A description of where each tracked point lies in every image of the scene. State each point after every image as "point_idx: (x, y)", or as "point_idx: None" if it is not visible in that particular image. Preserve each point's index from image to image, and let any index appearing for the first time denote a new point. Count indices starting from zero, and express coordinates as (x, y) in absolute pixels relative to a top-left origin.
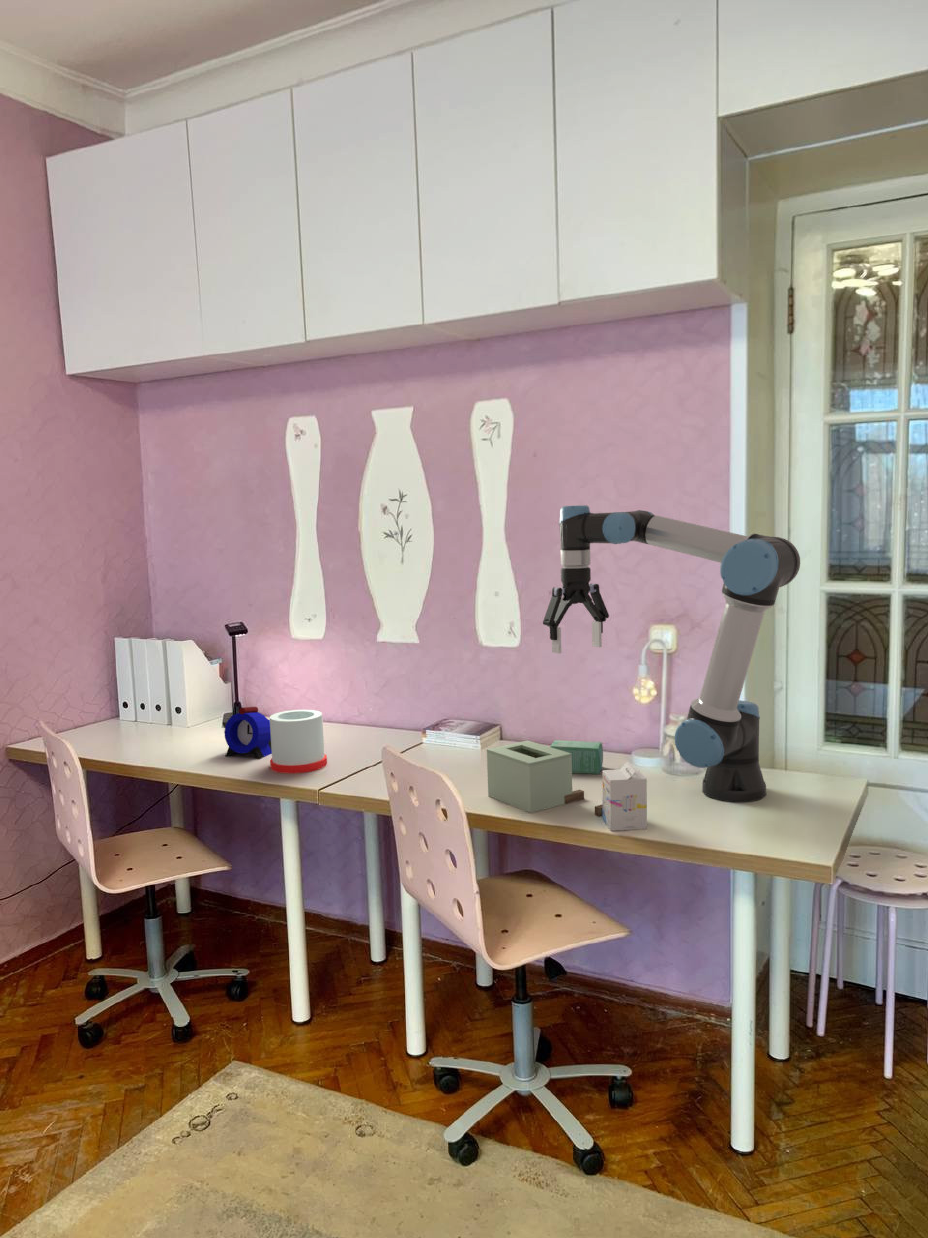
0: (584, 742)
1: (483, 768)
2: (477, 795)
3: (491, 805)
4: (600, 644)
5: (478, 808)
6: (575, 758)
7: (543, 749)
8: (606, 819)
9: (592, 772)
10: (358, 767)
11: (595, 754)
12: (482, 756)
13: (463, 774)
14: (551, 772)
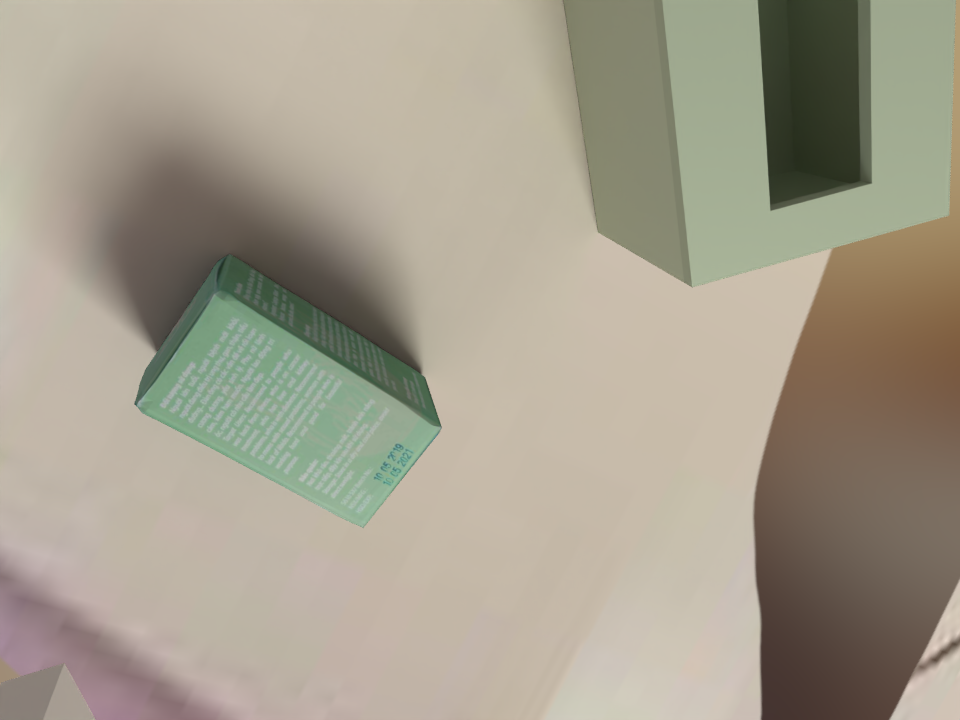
0: (239, 427)
1: (634, 525)
2: None
3: None
4: (15, 713)
5: None
6: (330, 336)
7: (730, 49)
8: None
9: (256, 270)
10: (955, 667)
11: (235, 287)
12: (562, 667)
13: (732, 480)
14: None
